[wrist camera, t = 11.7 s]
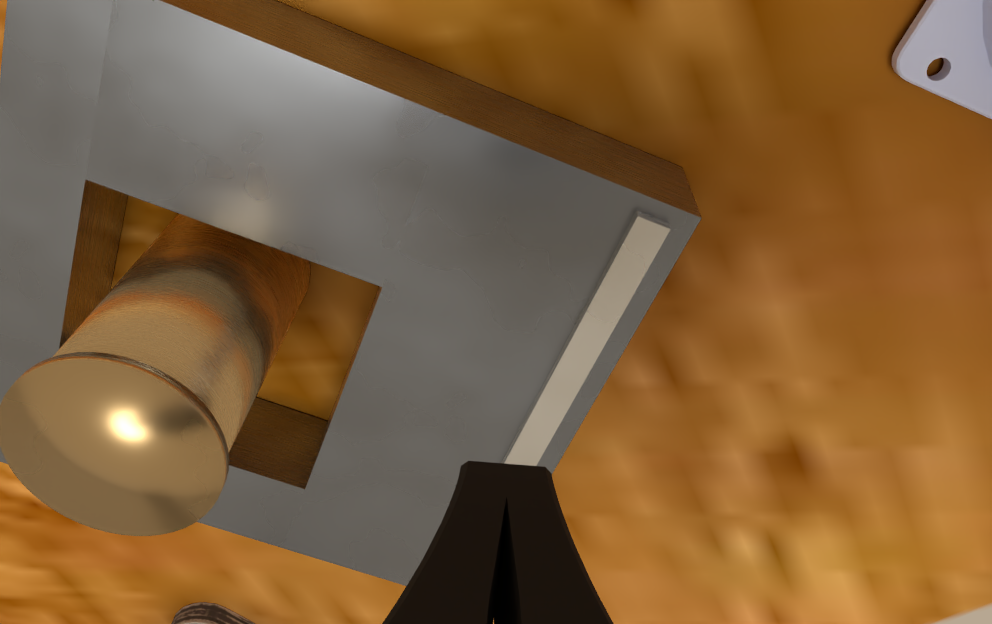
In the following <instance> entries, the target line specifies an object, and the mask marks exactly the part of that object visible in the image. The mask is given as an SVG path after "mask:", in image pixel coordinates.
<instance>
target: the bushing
mask: <svg viewBox="0 0 992 624" xmlns="http://www.w3.org/2000/svg"><path fill="white" fill-rule="evenodd" d="M309 282H310V263H309V260H306V259H303V258H301V257H298V256H295V255H292V254H290V253H287V252H284V251H281V250H279V249H276V248H273V247H270V246H268V245H265V244H262V243H259V242H256V241H254V240H251V239H248V238H245V237H243V236H240V235H237V234H234V233H232V232H229V231H226V230H223V229H221V228H218V227H215V226H212V225H210V224H207V223H204V222H201V221H199V220H196V219H193V218H190V217H188V216H185V215H182V214H178V215H177V216H176V217H175V218H174V219H173V221H172V222H171V223H170V224H169V225H168V226H167V227H166V228H165V230H164V231H163V232H162V233H161V234H160V235H159V236H158V238H157V239H156V240H155V241H154V242H153V243H152V244H151V246H150V247H149V248H148V249H147V250H146V251H145V252H144V253H143V255H142V256H141V257H140V258H139V259H138V260H137V261H136V263H135V264H134V265H133V266H132V267H131V268H130V269H129V270H128V272H127V273H126V274H125V275H124V276H123V277H122V278H121V280H120V281H119V282H118V283H117V284H116V285H115V286H114V288H113V289H112V290H111V291H110V292H109V293H108V294H107V295H106V297H105V298H104V299H103V300H102V301H101V302H100V303H99V305H98V306H97V307H96V308H95V309H94V310H93V311H92V313H91V314H90V315H89V316H88V317H87V318H86V319H85V320H84V322H83V323H82V324H81V325H80V326H79V327H78V328H77V330H76V331H75V332H74V333H73V334H72V335H71V336H70V337H69V339H68V340H67V341H66V342H65V343H64V344H63V345H62V347H61V348H60V349H59V350H58V351H57V352H56V353H55V355H54V356H53V357H51V358H48V359H46V360H44V361H41V362H39V363H37V364H36V365H34V366H33V367H31V368H30V369H28V370H27V371H26V372H25V373H24V374H23V375H21V376H20V377H19V378H18V380H17V381H16V382H15V383H14V384H13V385H12V386H11V387H10V389H9V390H8V391H7V393H6V394H5V396H4V397H3V400H2V402H1V404H0V447H1V451H2V453H3V455H4V457H5V459H6V461H7V463H8V465H9V466H10V468H11V469H12V471H13V473H14V474H15V475H16V476H17V478H18V479H19V480H20V481H21V483H22V484H23V485H24V486H25V487H26V488H27V489H28V490H29V491H30V492H31V493H32V494H34V495H35V496H36V497H37V498H38V499H40V500H41V501H42V502H43V503H45V504H46V505H48V506H49V507H51V508H52V509H53V510H55V511H57V512H59V513H60V514H62V515H64V516H66V517H67V518H70V519H72V520H74V521H76V522H78V523H80V524H83V525H86V526H89V527H91V528H94V529H98V530H102V531H105V532H110V533H115V534H121V535H131V536H152V535H161V534H166V533H170V532H174V531H177V530H180V529H183V528H186V527H187V526H189V525H191V524H193V523H195V522H197V521H198V520H199V519H201V518H202V517H204V516H205V515H206V514H207V513H208V512H209V511H210V510H211V509H212V507H213V506H214V504H215V503H216V501H217V500H218V498H219V496H220V493H221V491H222V489H223V487H224V485H225V482H226V480H227V476H228V472H229V452H230V449H231V447H232V445H233V443H234V441H235V439H236V437H237V435H238V433H239V431H240V429H241V427H242V425H243V422H244V420H245V418H246V416H247V414H248V412H249V410H250V408H251V406H252V404H253V402H254V400H255V398H256V396H257V393H258V391H259V389H260V387H261V385H262V383H263V381H264V379H265V377H266V375H267V373H268V371H269V369H270V366H271V364H272V362H273V360H274V358H275V356H276V354H277V352H278V350H279V348H280V346H281V344H282V342H283V340H284V337H285V335H286V333H287V331H288V329H289V327H290V325H291V323H292V321H293V319H294V317H295V315H296V313H297V310H298V308H299V306H300V304H301V302H302V300H303V298H304V296H305V294H306V291H307V289H308V285H309Z"/></svg>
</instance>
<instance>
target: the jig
mask: <svg viewBox="0 0 992 624" xmlns="http://www.w3.org/2000/svg"><path fill="white" fill-rule="evenodd" d="M128 195H130V196H133V197H135V198H138V199H141V200H144V201H146V202H149V203H152V204H155V205H157V206H160V207H163V208H166V209H168V210H171V211H174V212H177V213H179V214H182V215H185V216H188V217H190V218H193V219H196V220H199V221H201V222H204V223H207V224H210V225H212V226H215V227H218V228H221V229H223V230H226V231H229V232H232V233H234V234H237V235H240V236H243V237H245V238H248V239H251V240H254V241H256V242H259V243H262V244H265V245H268V246H270V247H273V248H276V249H279V250H281V251H284V252H287V253H290V254H292V255H295V256H298V257H301V258H303V259H306V260H309V261H312V262H314V263H317V264H320V265H323V266H325V267H328V268H331V269H334V270H336V271H339V272H342V273H345V274H347V275H350V276H353V277H356V278H358V279H361V280H364V281H367V282H369V283H372V284H375V285H378V286H379V289H378V291H377V294H376V297H375V299H374V302H373V305H372V307H371V310H370V312H369V315H368V318H367V320H366V323H365V326H364V328H363V331H362V333H361V336H360V339H359V341H358V344H357V347H356V349H355V352H354V354H353V357H352V360H351V362H350V365H349V368H348V370H347V373H346V375H345V378H344V381H343V383H342V386H341V389H340V391H339V394H338V397H337V399H336V402H335V404H334V407H333V410H332V412H331V415H330V418H329V420H328V421H325V420H322V419H319V418H316V417H313V416H310V415H307V414H304V413H301V412H298V411H295V410H292V409H289V408H286V407H283V406H280V405H277V404H274V403H271V402H268V401H265V400H262V399H259V398H255V400H254V402H253V404H252V406H251V408H250V410H249V412H248V414H247V416H246V418H245V420H244V422H243V425H242V427H241V429H240V431H239V433H238V435H237V437H236V439H235V441H234V443H233V445H232V447H231V449H230V452H229V472H228V476H227V480H226V482H225V485H224V487H223V489H222V491H221V493H220V496H219V498H218V500H217V501H216V503H215V504H214V506H213V507H212V509H211V510H210V511H209V512H208V513H207V514H206V515H205V516H204V517H202V518H201V519H199V520H198V521H197V522H199V523H203V524H206V525H209V526H213V527H216V528H219V529H222V530H226V531H229V532H232V533H235V534H239V535H242V536H245V537H248V538H252V539H255V540H258V541H262V542H265V543H268V544H271V545H275V546H278V547H281V548H284V549H288V550H291V551H294V552H297V553H301V554H304V555H307V556H311V557H314V558H317V559H320V560H324V561H327V562H330V563H333V564H337V565H340V566H343V567H346V568H350V569H353V570H356V571H360V572H363V573H366V574H369V575H373V576H376V577H379V578H382V579H386V580H389V581H392V582H395V583H399V584H402V585H405V586H407V585H408V583H409V581H410V580H411V578H412V576H413V575H414V573H415V571H416V570H417V568H418V566H419V565H420V563H421V561H422V559H423V557H424V556H425V554H426V552H427V550H428V548H429V546H430V544H431V542H432V540H433V538H434V536H435V534H436V532H437V530H438V528H439V526H440V524H441V522H442V520H443V517H444V515H445V513H446V510H447V508H448V506H449V503H450V501H451V498H452V496H453V493H454V490H455V487H456V484H457V481H458V477H459V473H460V468H461V465H463V464H464V463H466V462H467V461H479V462H491V463H504V464H517V465H530V466H543V467H546V468H547V469H548V470H549V471H550V472H551V474H552V473H553V471H554V470H555V468H556V466H557V464H558V463H559V461H560V459H561V458H562V456H563V454H564V452H565V451H566V449H567V447H568V446H569V444H570V442H571V440H572V439H573V437H574V435H575V434H576V432H577V430H578V428H579V427H580V425H581V423H582V422H583V420H584V418H585V417H586V415H587V413H588V411H589V410H590V408H591V406H592V405H593V403H594V401H595V399H596V398H597V396H598V394H599V393H600V391H601V389H602V387H603V386H604V384H605V382H606V381H607V379H608V377H609V375H610V374H611V372H612V370H613V369H614V367H615V365H616V364H617V362H618V360H619V358H620V357H621V355H622V353H623V352H624V350H625V348H626V346H627V345H628V343H629V341H630V340H631V338H632V336H633V334H634V333H635V331H636V329H637V328H638V326H639V324H640V322H641V321H642V319H643V317H644V316H645V314H646V312H647V310H648V309H649V307H650V305H651V304H652V302H653V300H654V299H655V297H656V295H657V293H658V292H659V290H660V288H661V287H662V285H663V283H664V281H665V280H666V278H667V276H668V275H669V273H670V271H671V269H672V268H673V266H674V264H675V263H676V261H677V259H678V257H679V256H680V254H681V252H682V251H683V249H684V247H685V246H686V244H687V242H688V240H689V239H690V237H691V235H692V234H693V232H694V230H695V228H696V227H697V225H698V223H699V222H700V220H701V215H700V212H699V210H698V207H697V205H696V202H695V199H694V197H693V194H692V192H691V189H690V186H689V184H688V181H687V178H686V176H685V173H684V171H683V168H682V167H680V166H677V165H675V164H673V163H670V162H668V161H665V160H663V159H660V158H658V157H656V156H653V155H651V154H648V153H646V152H643V151H641V150H638V149H636V148H634V147H631V146H629V145H626V144H624V143H621V142H619V141H617V140H614V139H612V138H609V137H607V136H604V135H602V134H599V133H597V132H595V131H592V130H590V129H587V128H585V127H582V126H580V125H578V124H575V123H573V122H570V121H568V120H565V119H563V118H561V117H558V116H556V115H553V114H551V113H548V112H546V111H543V110H541V109H539V108H536V107H534V106H531V105H529V104H526V103H524V102H522V101H519V100H517V99H514V98H512V97H509V96H507V95H505V94H502V93H500V92H497V91H495V90H492V89H490V88H487V87H485V86H483V85H480V84H478V83H475V82H473V81H470V80H468V79H466V78H463V77H461V76H458V75H456V74H453V73H451V72H448V71H446V70H444V69H441V68H439V67H436V66H434V65H431V64H429V63H427V62H424V61H422V60H419V59H417V58H414V57H412V56H410V55H407V54H405V53H402V52H400V51H397V50H395V49H392V48H390V47H388V46H385V45H383V44H380V43H378V42H375V41H373V40H371V39H368V38H366V37H363V36H361V35H358V34H356V33H353V32H351V31H349V30H346V29H344V28H341V27H339V26H336V25H334V24H332V23H329V22H327V21H324V20H322V19H319V18H317V17H315V16H312V15H310V14H307V13H305V12H302V11H300V10H297V9H295V8H293V7H290V6H288V5H285V4H283V3H280V2H278V1H276V0H7V10H6V21H5V32H4V43H3V54H2V65H1V75H0V404H1V402H2V400H3V397H4V396H5V394H6V393H7V391H8V390H9V389H10V387H11V386H12V385H13V384H14V383H15V382H16V381H17V380H18V378H19V377H20V376H21V375H23V374H24V373H25V372H26V371H27V370H28V369H30V368H31V367H33V366H34V365H36V364H37V363H39V362H41V361H44V360H46V359H48V358H51V357H53V356H54V355H55V353H56V352H57V351H58V350H59V349H60V348H61V347H62V345H63V344H64V343H65V342H66V341H67V340H68V339H69V337H70V336H71V335H72V334H73V333H74V332H75V331H76V330H77V328H78V327H79V326H80V325H81V324H82V323H83V322H84V320H85V319H86V318H87V317H88V316H89V315H90V314H91V313H92V311H93V310H94V309H95V308H96V307H97V306H98V305H99V303H100V302H101V301H102V300H103V299H104V298H105V297H106V295H107V294H108V293H109V292H110V288H111V283H112V278H113V272H114V267H115V261H116V256H117V251H118V245H119V240H120V235H121V229H122V224H123V218H124V213H125V208H126V202H127V197H128ZM0 462H4V463H7V461H6V459H5V457H4V455H3V453H2V451H1V447H0ZM7 464H8V463H7Z"/></svg>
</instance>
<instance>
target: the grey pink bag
mask: <svg viewBox="0 0 992 624" xmlns="http://www.w3.org/2000/svg"><path fill="white" fill-rule="evenodd" d="M172 624H255V623H253V622H251V621H249V620H247V619H245V618H244V617H242V616H240V615H238V614H236V613H234V612H233V611H231V610H229V609H227V608H225V607H222V606H220V605H217V604H213V603H204V602H203V603H194V604H190V605H188V606H185V607H183V608H182V609H181V610H179V611H178V612H177V613H176V615H175V617H174V619H173V622H172Z"/></svg>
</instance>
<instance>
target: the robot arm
mask: <svg viewBox="0 0 992 624" xmlns="http://www.w3.org/2000/svg"><path fill="white" fill-rule="evenodd" d="M938 58H943V59H944V65H943V67H942V69H941V70H940V71H939V72H938V73H937V74H935V75H933V76H927V72H926V71H927V68H928V65H929V64H930V63H931V62H932V61H933V60H935V59H938ZM892 67H893V69H894V71H895V73H896V74H898V75H899V76H900V77H902V78H903V79H904V80H906V81H908V82H910V83H912V84H914V85H916V86H919V87H921V88H923V89H925V90H928V91H930V92H932V93H934V94H936V95H939V96H941V97H943V98H945V99H948V100H950V101H952V102H954V103H957V104H959V105H961V106H963V107H965V108H968V109H970V110H972V111H974V112H977V113H979V114H981V115H983V116H985V117H988V118H990V119H992V0H927V1H926V2H925V4H924V5H923V7H922V8H921V10H920V11H919V13H918V14H917V16H916V18H915V19H914V21H913V22H912V24H911V25H910V27H909V28H908V30H907V32H906V33H905V35H904V36H903V38H902V39H901V41H900V42H899V44H898V46H897V47H896V49H895V51H894V53H893V56H892ZM493 619H494V624H613V622H612V620H611V618H610V617H609V615H608V613H607V611H606V609H605V607H604V605H603V603H602V602H601V600H600V598H599V596H598V594H597V592H596V590H595V588H594V586H593V584H592V582H591V580H590V578H589V576H588V573H587V571H586V569H585V567H584V564H583V562H582V560H581V558H580V556H579V553H578V551H577V549H576V547H575V544H574V542H573V539H572V537H571V535H570V532H569V529H568V527H567V524H566V521H565V519H564V516H563V513H562V510H561V507H560V504H559V501H558V498H557V495H556V491H555V488H554V484H553V480H552V474H551V472H550V471H549V470H548V469H547V468H546V467H543V466H530V465H517V464H504V463H491V462H479V461H467V462H466V463H464V464H463V465H461V468H460V473H459V477H458V481H457V484H456V487H455V490H454V493H453V496H452V498H451V501H450V503H449V506H448V508H447V510H446V513H445V515H444V517H443V520H442V522H441V524H440V526H439V528H438V530H437V532H436V534H435V536H434V538H433V540H432V542H431V544H430V546H429V548H428V550H427V552H426V554H425V556H424V557H423V559H422V561H421V563H420V565H419V566H418V568H417V570H416V571H415V573H414V575H413V576H412V578H411V580H410V581H409V583H408V585H407V586H406V588H405V590H404V591H403V593H402V595H401V596H400V598H399V599H398V601H397V603H396V604H395V606H394V607H393V609H392V610H391V612H390V613H389V615H388V616H387V618H386V619H385V621H384V622H383V623H382V624H493Z"/></svg>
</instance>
